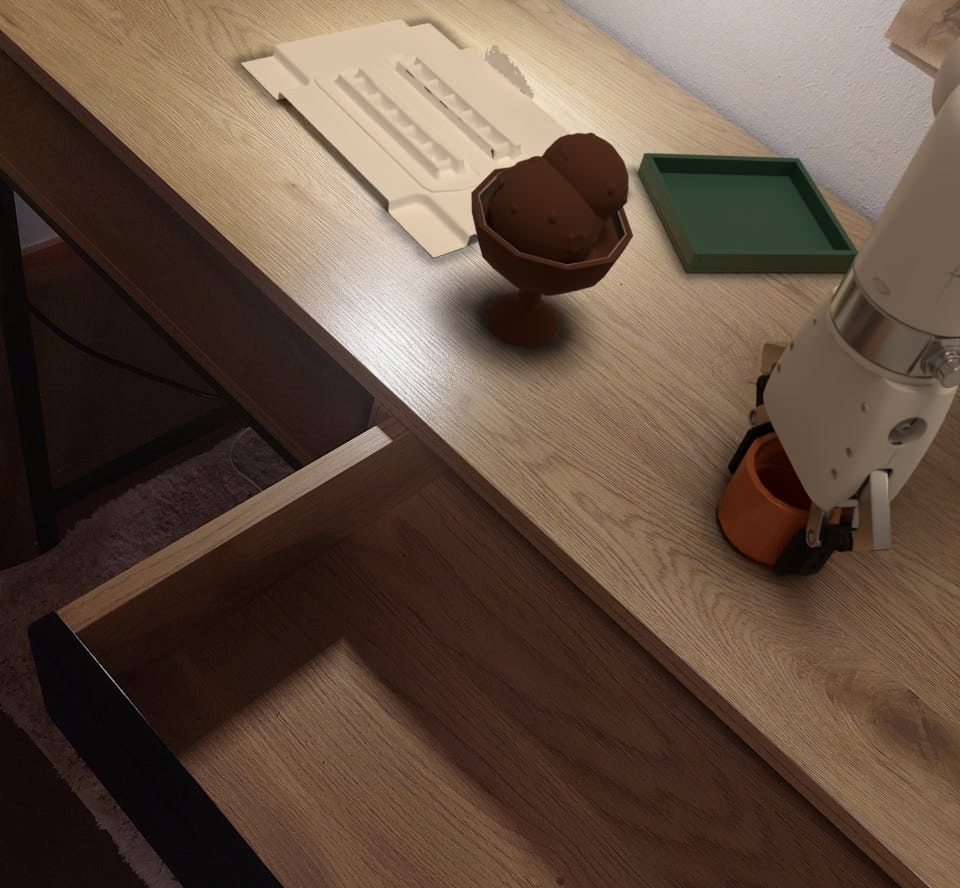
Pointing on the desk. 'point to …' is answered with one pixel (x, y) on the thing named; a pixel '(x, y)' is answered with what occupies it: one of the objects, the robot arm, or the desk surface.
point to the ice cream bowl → (550, 230)
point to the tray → (413, 117)
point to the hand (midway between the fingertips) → (771, 518)
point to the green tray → (745, 214)
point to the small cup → (765, 502)
